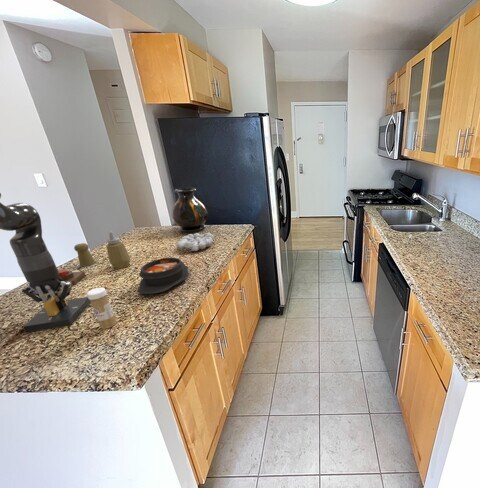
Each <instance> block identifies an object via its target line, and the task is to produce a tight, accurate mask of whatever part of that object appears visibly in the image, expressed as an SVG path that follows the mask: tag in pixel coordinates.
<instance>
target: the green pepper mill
mask: <svg viewBox="0 0 480 488" xmlns="http://www.w3.org/2000/svg"><path fill="white" fill-rule="evenodd" d="M89 248H90V247H89V244H88V243H86V242H82V243H78V244H75V245H74V246H73V249H74V250H75V252H76V253H77V258H78V261H79V262H78V263H79V267H81V268H86V267H90V266H91V267H92V266H94V265H96V264H97V262H96V260H95V259H94V257H93V255H92V253H91V252H90V250H89Z"/></svg>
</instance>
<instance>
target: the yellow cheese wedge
mask: <svg viewBox="0 0 480 488" xmlns="http://www.w3.org/2000/svg"><path fill="white" fill-rule="evenodd" d="M64 300H65V303H66V306H67V305H68V304H67V302H66V300H67V299H66V298H65V299H64ZM42 305H43V308H44V307H45V309H46V311H47V313H48V315H49V316H55V315H56V314H57V313H59V312H60V311H61V310H59V309H58V307H57V305H56V301H55V299H54V298H53V296H52V297H51V298H50V299H49V300H48V301H46V302H45V303H44V302H43V303H42Z"/></svg>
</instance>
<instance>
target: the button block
mask: <svg viewBox="0 0 480 488" xmlns="http://www.w3.org/2000/svg"><path fill="white" fill-rule="evenodd" d="M67 272H68V274H66V275H64V276H59V277H60V278H61V279H62V280H63V281H64V282H73V285H72V286H76V285H78V283H80V282H81V281H82V279H83V278H84V277H86V272H85V271H76V272H73V270H67ZM60 287H61V288H62V285H61V286H60Z"/></svg>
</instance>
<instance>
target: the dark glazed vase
mask: <svg viewBox="0 0 480 488" xmlns="http://www.w3.org/2000/svg"><path fill="white" fill-rule="evenodd" d="M196 191H197V189H196V188H195V187H180V188H175V189H174V191H173V192H174V193H176V194H177V195H178V198H177V201H175V203H174V205H173V207H172V210H171V218H172V221H173V222H174V224H175V225H177V226H178V227H179V231H180V232H181V233H184V234H194V233H199V232H201V231H204V230H205V229H206V228H207V226H206V224H205V223H206V222H207V220H208V217H209V214H208V211H207V208H206V206H205V205H204V203H202V201H200V200H199V199H198V198H197V197H195V194H194V193H195V192H196Z"/></svg>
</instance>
